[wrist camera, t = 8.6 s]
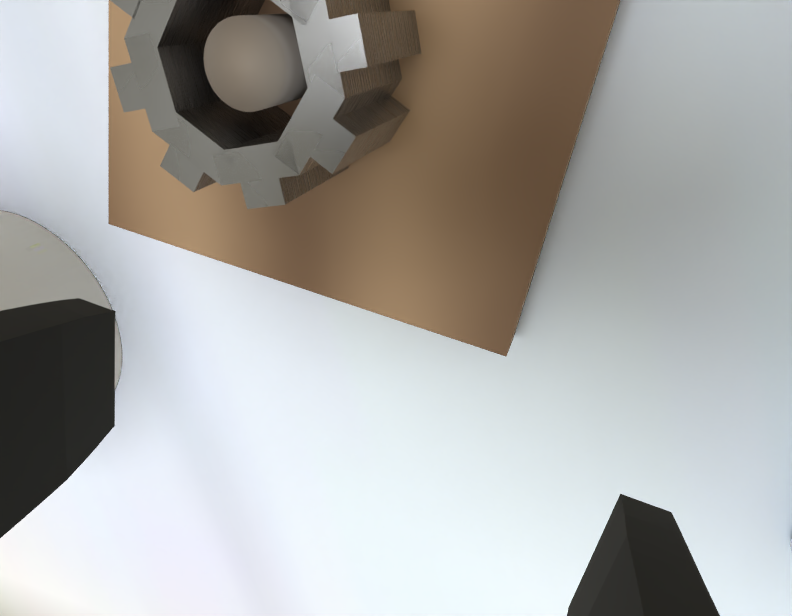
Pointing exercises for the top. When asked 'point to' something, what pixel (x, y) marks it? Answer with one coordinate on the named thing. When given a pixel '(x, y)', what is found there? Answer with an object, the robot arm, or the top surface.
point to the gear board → (393, 164)
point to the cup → (44, 271)
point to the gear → (272, 127)
